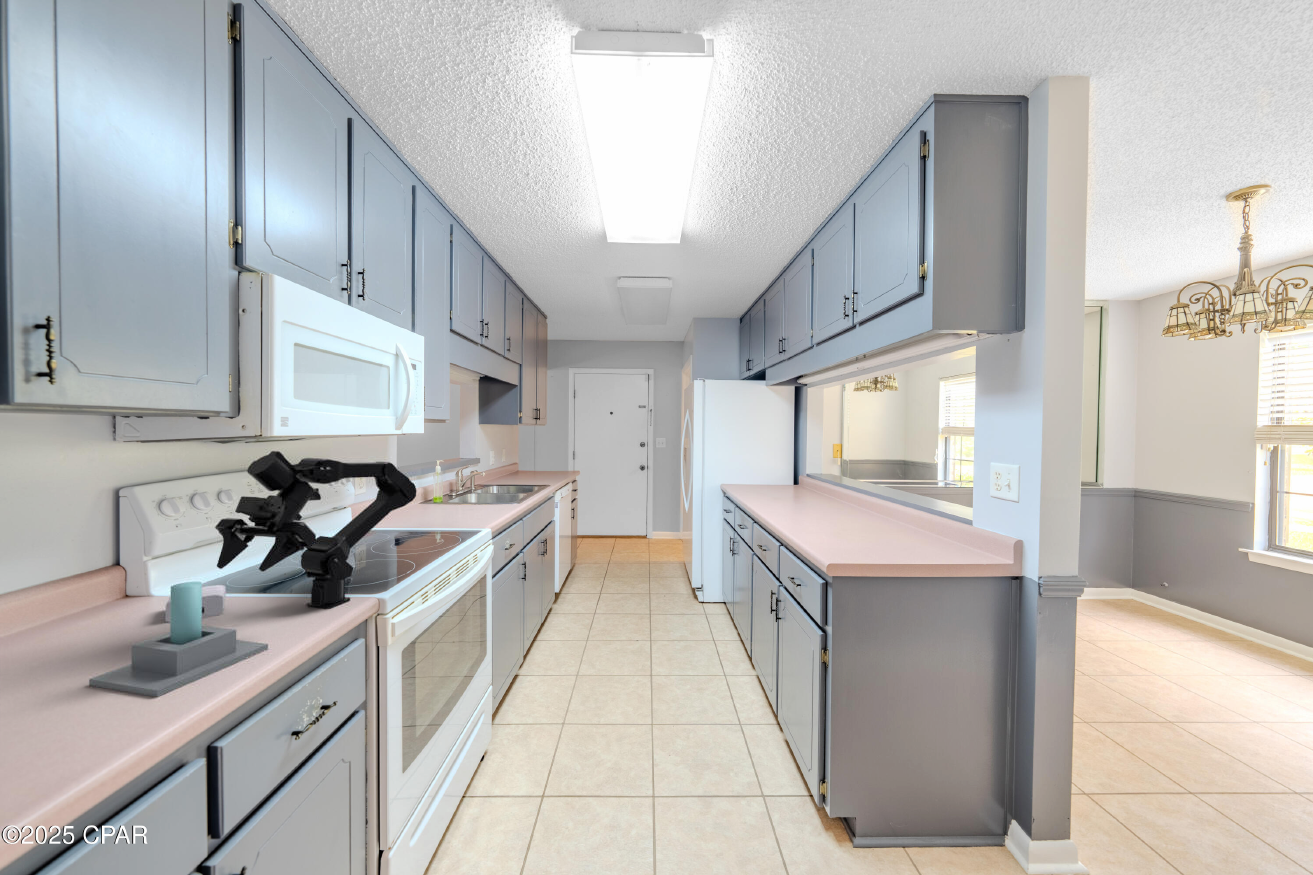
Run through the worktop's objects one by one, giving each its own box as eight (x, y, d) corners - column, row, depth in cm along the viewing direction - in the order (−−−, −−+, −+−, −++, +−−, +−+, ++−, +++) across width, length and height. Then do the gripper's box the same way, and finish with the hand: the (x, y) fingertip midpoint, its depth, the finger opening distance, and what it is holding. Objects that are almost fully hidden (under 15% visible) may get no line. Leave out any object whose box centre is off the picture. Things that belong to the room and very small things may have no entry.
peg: (177, 656, 91) (178, 582, 91) (205, 653, 93) (206, 580, 93) (165, 666, 88) (165, 589, 88) (194, 663, 89) (195, 587, 89)
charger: (227, 597, 127) (222, 615, 115) (175, 603, 121) (165, 624, 109) (227, 577, 126) (223, 594, 114) (175, 583, 121) (165, 601, 109)
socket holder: (208, 641, 101) (208, 615, 100) (267, 649, 98) (268, 622, 97) (89, 685, 83) (89, 653, 83) (157, 696, 80) (157, 664, 80)
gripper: (224, 479, 108) (167, 543, 97) (306, 482, 106) (257, 549, 95) (257, 511, 116) (208, 574, 105) (334, 515, 114) (291, 579, 103)
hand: (239, 569), depth 102 cm, fingers open, 9 cm apart
